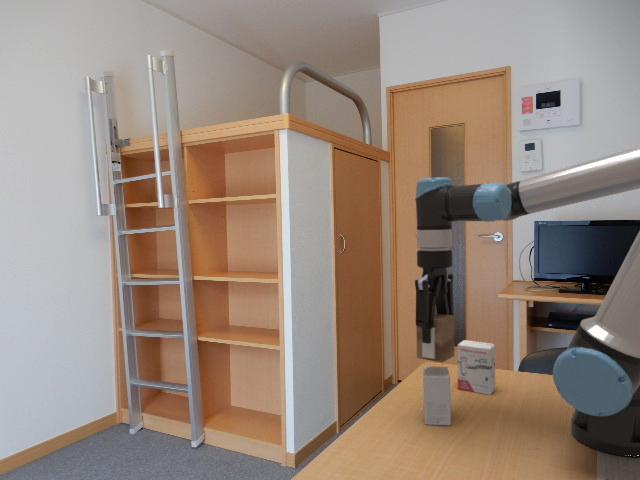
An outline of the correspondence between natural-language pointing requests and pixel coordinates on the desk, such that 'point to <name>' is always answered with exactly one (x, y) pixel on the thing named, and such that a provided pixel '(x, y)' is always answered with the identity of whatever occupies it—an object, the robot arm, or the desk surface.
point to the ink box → (476, 366)
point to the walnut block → (439, 338)
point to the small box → (436, 395)
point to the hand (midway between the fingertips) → (435, 353)
